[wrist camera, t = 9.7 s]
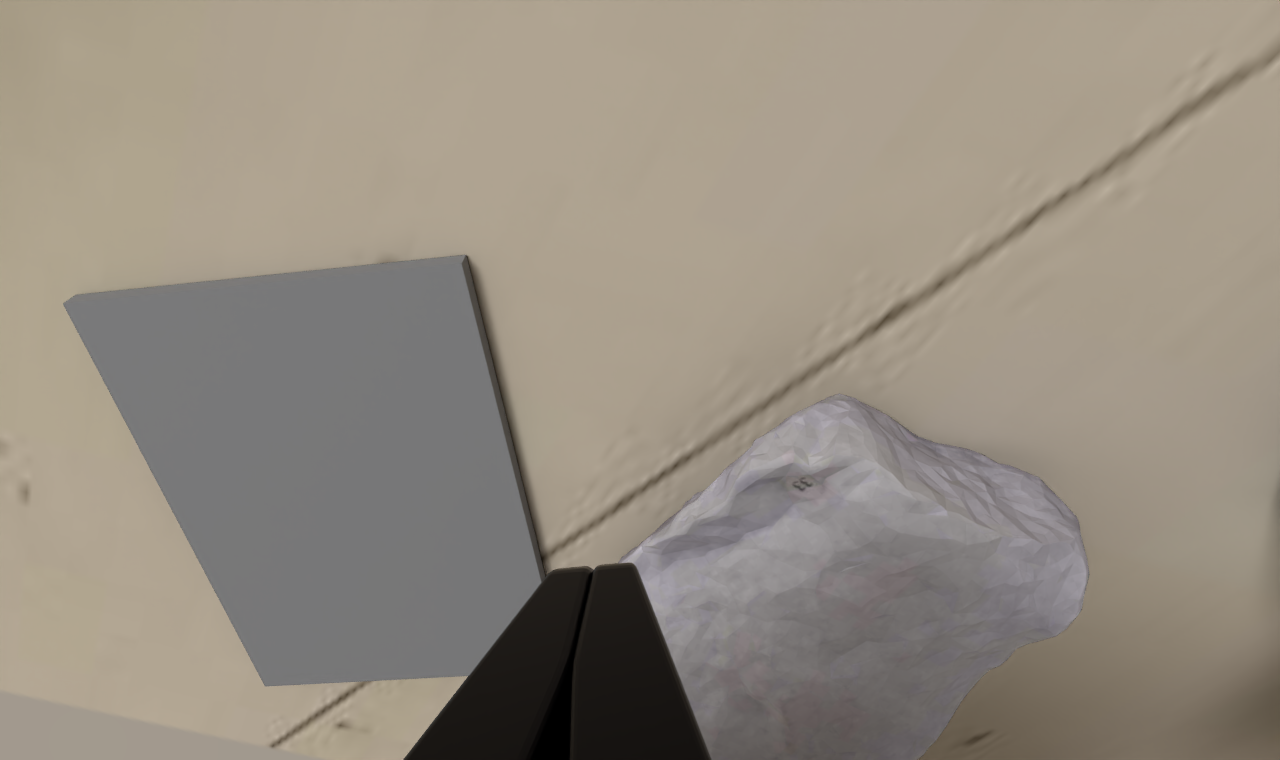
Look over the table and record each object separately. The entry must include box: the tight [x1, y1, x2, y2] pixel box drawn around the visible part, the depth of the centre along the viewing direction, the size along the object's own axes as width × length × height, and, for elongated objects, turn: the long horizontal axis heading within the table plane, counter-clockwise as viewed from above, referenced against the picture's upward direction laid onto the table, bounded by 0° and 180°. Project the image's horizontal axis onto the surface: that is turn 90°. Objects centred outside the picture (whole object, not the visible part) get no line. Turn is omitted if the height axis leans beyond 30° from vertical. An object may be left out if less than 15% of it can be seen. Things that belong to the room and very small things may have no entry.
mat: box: [63, 255, 545, 686], centre depth 23 cm, size 10×14×1 cm
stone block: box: [619, 394, 1089, 760], centre depth 23 cm, size 12×5×10 cm
